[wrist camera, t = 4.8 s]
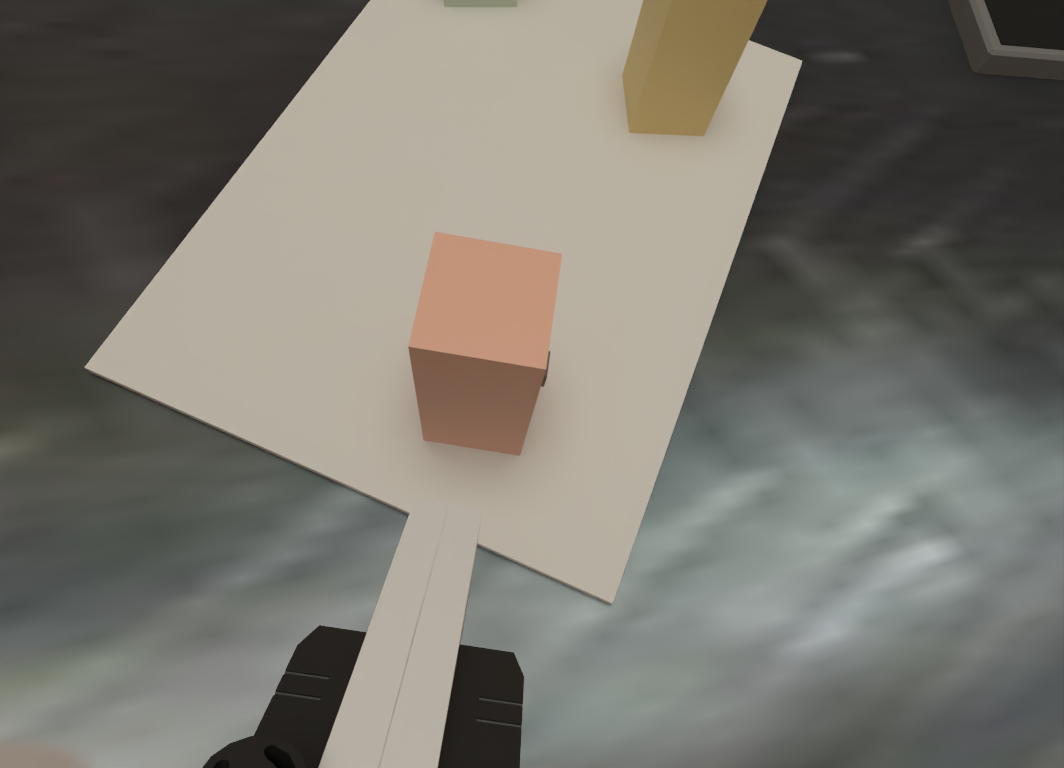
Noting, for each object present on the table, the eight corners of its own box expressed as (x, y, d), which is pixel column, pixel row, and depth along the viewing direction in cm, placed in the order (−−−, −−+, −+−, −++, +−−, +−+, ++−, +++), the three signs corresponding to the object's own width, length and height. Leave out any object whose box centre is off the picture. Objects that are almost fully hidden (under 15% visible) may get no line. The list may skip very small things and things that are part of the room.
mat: (609, 604, 29) (612, 603, 29) (91, 372, 31) (84, 367, 30) (798, 68, 43) (802, 60, 43) (434, -73, 45) (433, -82, 44)
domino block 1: (524, 456, 31) (552, 370, 22) (423, 440, 31) (408, 346, 21) (536, 368, 33) (567, 254, 23) (441, 352, 32) (434, 231, 23)
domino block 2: (706, 136, 39) (782, -23, 30) (629, 132, 39) (682, -31, 30) (696, 79, 41) (765, -88, 32) (622, 75, 41) (670, -96, 31)
